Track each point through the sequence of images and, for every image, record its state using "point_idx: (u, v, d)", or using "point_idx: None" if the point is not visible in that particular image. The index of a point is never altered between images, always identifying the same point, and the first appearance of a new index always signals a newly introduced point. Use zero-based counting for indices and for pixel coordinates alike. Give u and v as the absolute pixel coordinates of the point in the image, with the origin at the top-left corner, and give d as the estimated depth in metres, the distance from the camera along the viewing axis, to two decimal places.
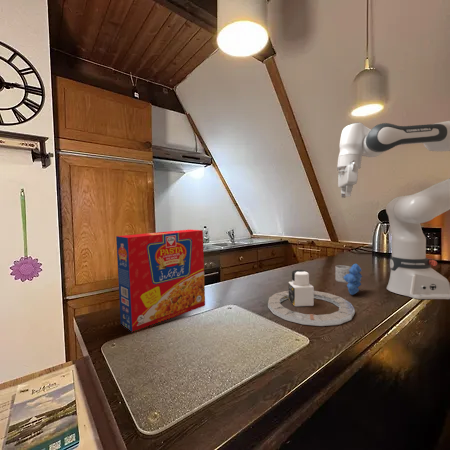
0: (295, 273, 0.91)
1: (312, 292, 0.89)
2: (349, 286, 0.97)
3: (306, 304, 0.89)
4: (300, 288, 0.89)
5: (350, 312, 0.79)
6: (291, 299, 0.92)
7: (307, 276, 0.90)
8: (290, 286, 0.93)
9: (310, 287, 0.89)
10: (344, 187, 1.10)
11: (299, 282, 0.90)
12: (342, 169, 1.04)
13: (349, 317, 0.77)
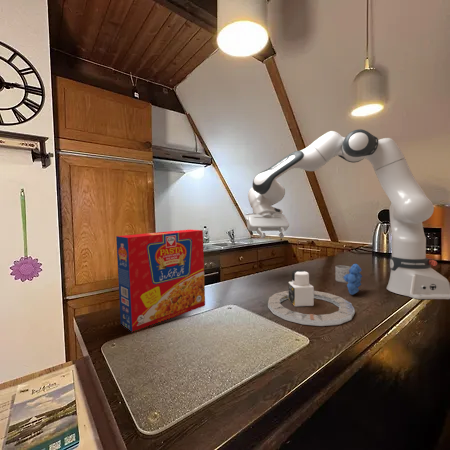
0: (295, 273, 0.91)
1: (312, 292, 0.89)
2: (349, 286, 0.97)
3: (306, 304, 0.89)
4: (300, 288, 0.89)
5: (350, 312, 0.79)
6: (291, 299, 0.92)
7: (307, 276, 0.90)
8: (290, 286, 0.93)
9: (310, 287, 0.89)
10: (279, 228, 1.16)
11: (299, 282, 0.90)
12: None
13: (349, 317, 0.77)
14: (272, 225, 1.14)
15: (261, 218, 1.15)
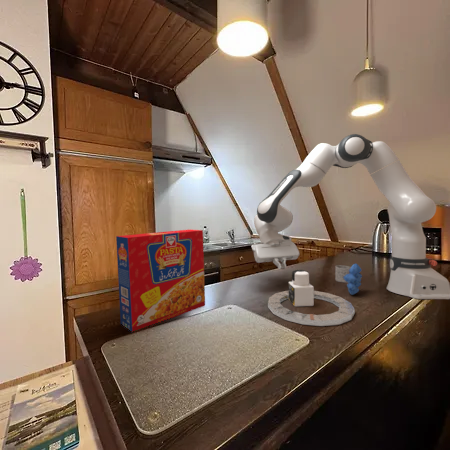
0: (295, 273, 0.91)
1: (312, 292, 0.89)
2: (349, 286, 0.97)
3: (306, 304, 0.89)
4: (300, 288, 0.89)
5: (350, 312, 0.79)
6: (291, 299, 0.92)
7: (307, 276, 0.90)
8: (290, 286, 0.93)
9: (310, 287, 0.89)
10: (281, 258, 1.07)
11: (299, 282, 0.90)
12: None
13: (349, 317, 0.77)
14: (281, 255, 1.06)
15: (269, 247, 1.08)
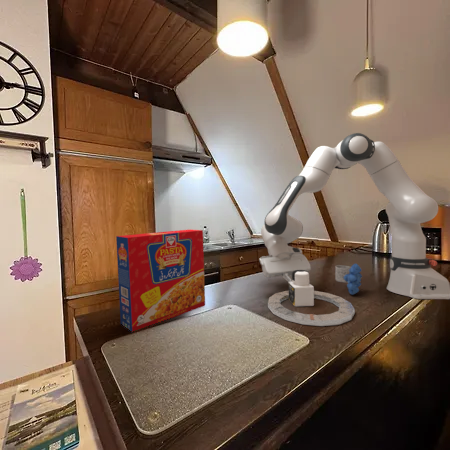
0: (295, 273, 0.91)
1: (312, 292, 0.89)
2: (349, 286, 0.97)
3: (306, 304, 0.89)
4: (300, 288, 0.89)
5: (350, 312, 0.79)
6: (291, 300, 0.92)
7: (307, 276, 0.90)
8: (290, 286, 0.93)
9: (310, 287, 0.89)
10: (291, 273, 1.00)
11: (299, 282, 0.90)
12: None
13: (349, 317, 0.77)
14: (292, 269, 0.99)
15: (279, 261, 1.01)
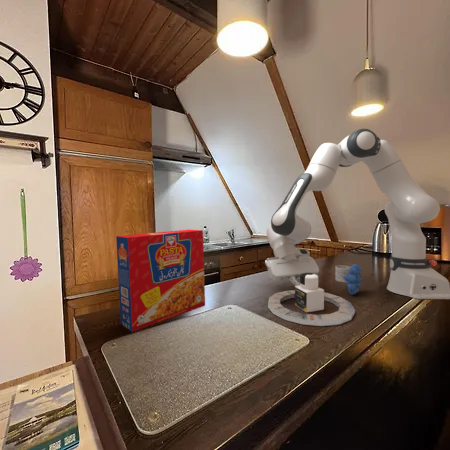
0: (305, 277, 0.85)
1: (323, 295, 0.85)
2: (349, 286, 0.97)
3: (317, 309, 0.85)
4: (312, 292, 0.84)
5: (350, 312, 0.79)
6: (300, 305, 0.87)
7: (317, 279, 0.86)
8: (299, 291, 0.87)
9: (321, 290, 0.85)
10: (299, 276, 0.95)
11: (310, 286, 0.85)
12: None
13: (349, 317, 0.77)
14: (299, 272, 0.94)
15: (285, 263, 0.96)
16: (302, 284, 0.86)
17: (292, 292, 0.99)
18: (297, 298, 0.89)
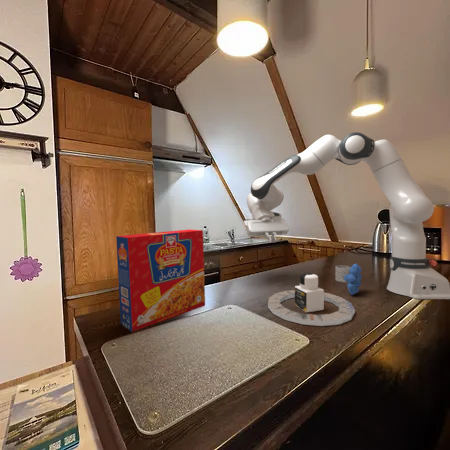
0: (305, 277, 0.86)
1: (322, 296, 0.85)
2: (349, 286, 0.97)
3: (317, 309, 0.85)
4: (311, 292, 0.84)
5: (350, 312, 0.79)
6: (300, 305, 0.87)
7: (317, 279, 0.86)
8: (298, 291, 0.88)
9: (321, 290, 0.85)
10: (271, 233, 1.14)
11: (310, 286, 0.85)
12: None
13: (349, 317, 0.77)
14: (272, 229, 1.13)
15: (261, 223, 1.15)
16: (302, 284, 0.86)
17: (292, 292, 0.99)
18: (297, 298, 0.89)
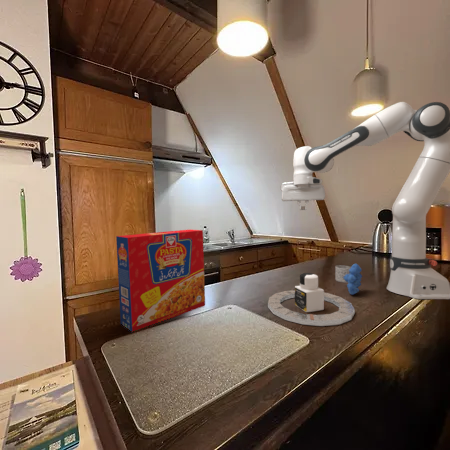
0: (305, 277, 0.86)
1: (322, 296, 0.85)
2: (349, 286, 0.97)
3: (317, 309, 0.85)
4: (311, 292, 0.84)
5: (350, 312, 0.79)
6: (300, 305, 0.87)
7: (317, 279, 0.86)
8: (298, 291, 0.88)
9: (321, 290, 0.85)
10: (305, 200, 1.21)
11: (310, 286, 0.85)
12: None
13: (349, 317, 0.77)
14: (304, 199, 1.20)
15: (296, 189, 1.20)
16: (302, 284, 0.86)
17: (292, 292, 0.99)
18: (297, 298, 0.89)
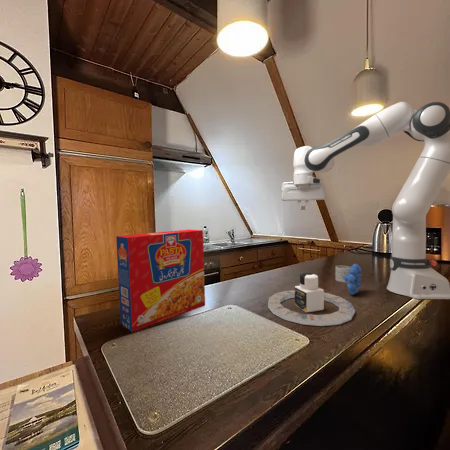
0: (305, 277, 0.86)
1: (322, 296, 0.85)
2: (349, 286, 0.97)
3: (317, 309, 0.85)
4: (311, 292, 0.84)
5: (350, 312, 0.79)
6: (300, 305, 0.87)
7: (317, 279, 0.86)
8: (298, 291, 0.88)
9: (321, 290, 0.85)
10: (305, 200, 1.21)
11: (310, 286, 0.85)
12: None
13: (349, 317, 0.77)
14: (305, 198, 1.20)
15: (296, 189, 1.20)
16: (302, 284, 0.86)
17: (292, 292, 0.99)
18: (297, 298, 0.89)
